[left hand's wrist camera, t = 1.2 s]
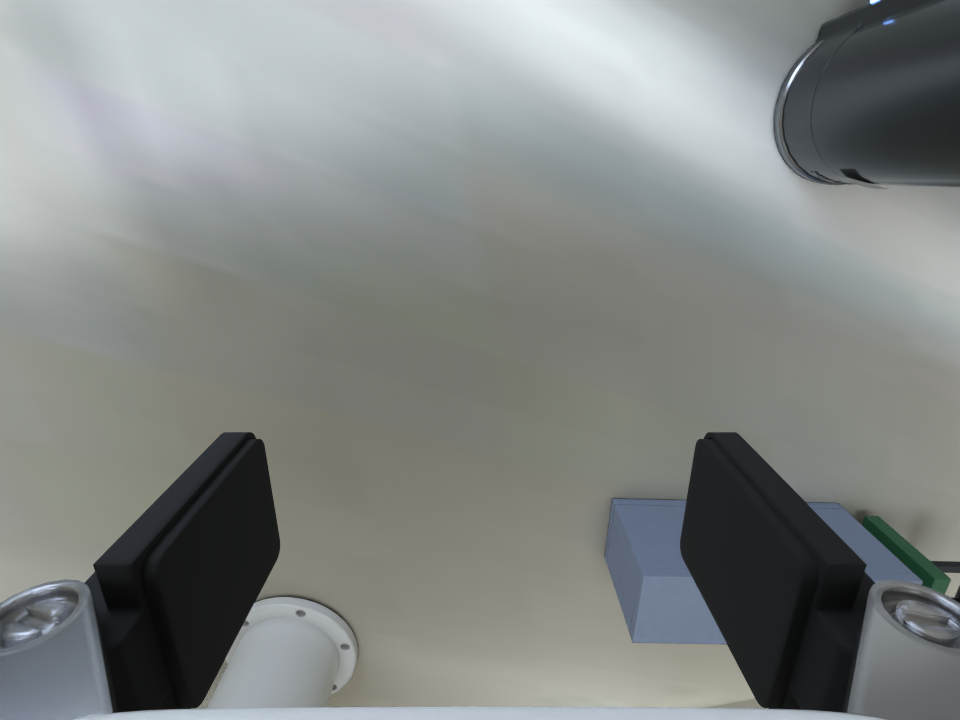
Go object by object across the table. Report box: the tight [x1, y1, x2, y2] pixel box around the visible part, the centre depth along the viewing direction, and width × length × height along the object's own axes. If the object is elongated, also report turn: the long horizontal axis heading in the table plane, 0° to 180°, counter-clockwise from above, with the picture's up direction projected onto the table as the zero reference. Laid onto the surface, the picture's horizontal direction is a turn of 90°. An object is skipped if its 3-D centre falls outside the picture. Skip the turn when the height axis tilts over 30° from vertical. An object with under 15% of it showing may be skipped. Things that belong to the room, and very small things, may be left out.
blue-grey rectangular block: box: [605, 499, 923, 644], centre depth 41 cm, size 20×6×9 cm, turn 89°
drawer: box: [862, 516, 960, 603], centre depth 41 cm, size 24×5×7 cm, turn 89°
